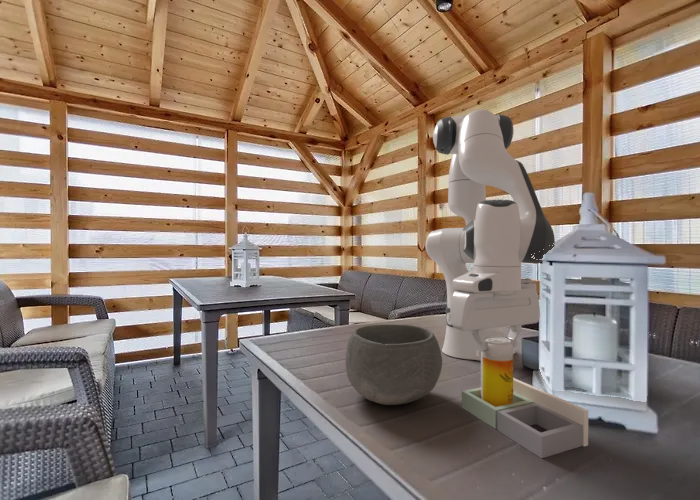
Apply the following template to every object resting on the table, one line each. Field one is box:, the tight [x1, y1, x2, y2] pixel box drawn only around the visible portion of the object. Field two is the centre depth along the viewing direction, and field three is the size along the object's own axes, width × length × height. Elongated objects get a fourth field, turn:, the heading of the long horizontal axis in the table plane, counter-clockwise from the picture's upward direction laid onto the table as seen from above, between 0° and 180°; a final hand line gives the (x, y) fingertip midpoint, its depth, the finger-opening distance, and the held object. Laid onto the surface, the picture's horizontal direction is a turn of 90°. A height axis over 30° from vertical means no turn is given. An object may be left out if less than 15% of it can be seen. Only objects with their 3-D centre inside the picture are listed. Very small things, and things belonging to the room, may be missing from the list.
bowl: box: [345, 323, 443, 406], centre depth 81 cm, size 21×21×15 cm
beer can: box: [480, 336, 514, 407], centre depth 74 cm, size 6×6×15 cm
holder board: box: [461, 377, 589, 459], centre depth 70 cm, size 10×20×6 cm, turn 22°
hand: (496, 348), depth 74 cm, fingers closed on beer can, 6 cm apart
